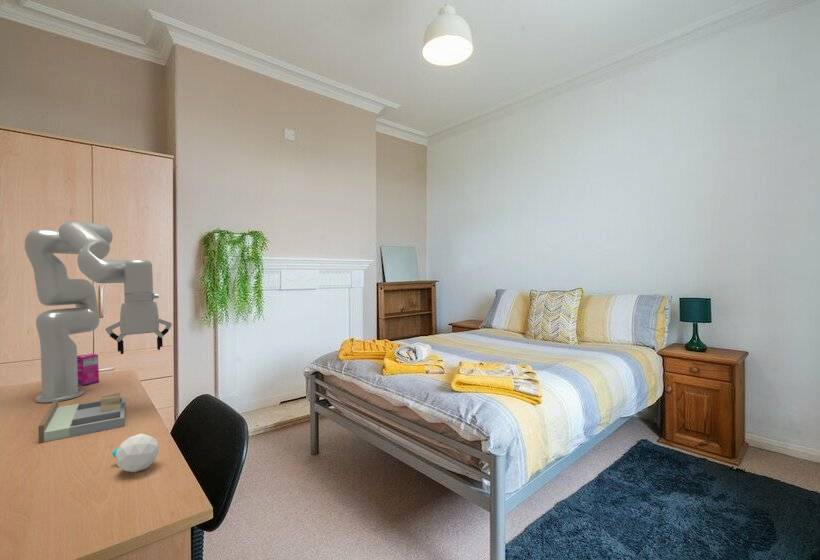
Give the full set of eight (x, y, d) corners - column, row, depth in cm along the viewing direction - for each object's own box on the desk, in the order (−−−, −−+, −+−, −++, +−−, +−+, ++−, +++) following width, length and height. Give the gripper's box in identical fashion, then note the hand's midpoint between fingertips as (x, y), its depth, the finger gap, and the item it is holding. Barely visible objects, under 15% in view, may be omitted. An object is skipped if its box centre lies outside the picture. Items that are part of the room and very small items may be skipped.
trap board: (53, 415, 118) (53, 401, 117) (125, 403, 128) (125, 390, 128) (38, 442, 99) (38, 426, 99) (124, 426, 110) (124, 410, 110)
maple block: (102, 408, 117) (101, 395, 117) (120, 404, 120) (120, 392, 120) (101, 412, 114) (100, 399, 114) (119, 409, 116) (119, 396, 116)
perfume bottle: (126, 468, 79) (86, 467, 83) (158, 475, 86) (120, 473, 89) (144, 430, 84) (105, 430, 87) (173, 438, 90) (136, 438, 94)
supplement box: (73, 384, 149) (73, 356, 149) (91, 380, 155) (90, 353, 155) (82, 386, 147) (81, 357, 147) (99, 382, 153) (99, 354, 152)
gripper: (170, 296, 129) (171, 346, 129) (105, 299, 119) (107, 353, 119) (171, 297, 123) (173, 349, 123) (103, 300, 113) (105, 357, 113)
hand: (140, 351), depth 121 cm, fingers open, 9 cm apart
